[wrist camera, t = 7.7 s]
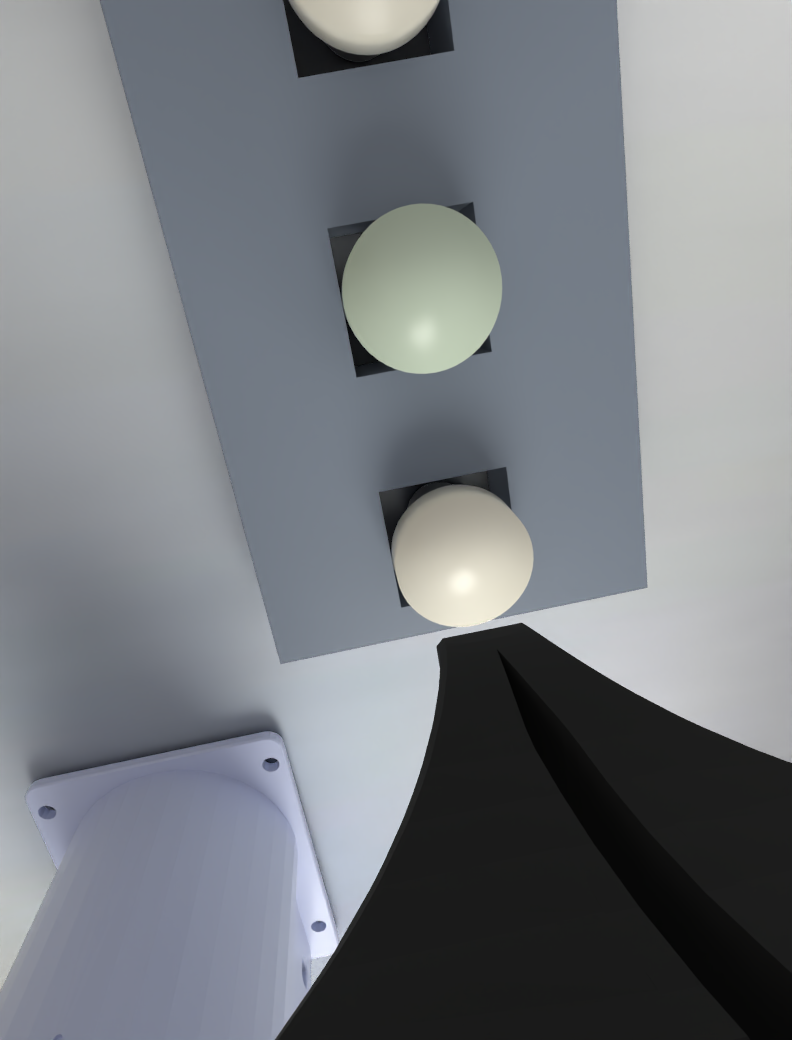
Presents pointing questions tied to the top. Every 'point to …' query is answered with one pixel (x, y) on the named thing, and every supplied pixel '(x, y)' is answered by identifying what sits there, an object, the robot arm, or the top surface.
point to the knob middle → (422, 288)
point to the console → (318, 307)
